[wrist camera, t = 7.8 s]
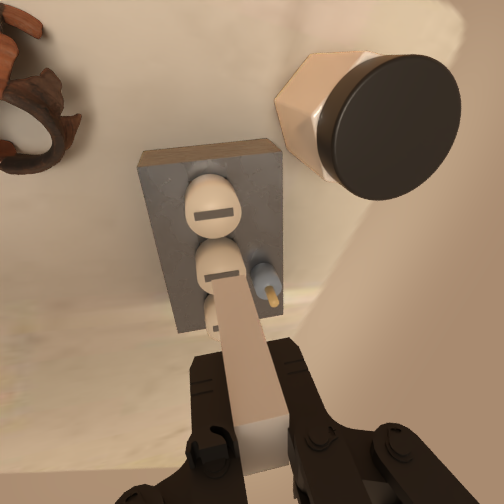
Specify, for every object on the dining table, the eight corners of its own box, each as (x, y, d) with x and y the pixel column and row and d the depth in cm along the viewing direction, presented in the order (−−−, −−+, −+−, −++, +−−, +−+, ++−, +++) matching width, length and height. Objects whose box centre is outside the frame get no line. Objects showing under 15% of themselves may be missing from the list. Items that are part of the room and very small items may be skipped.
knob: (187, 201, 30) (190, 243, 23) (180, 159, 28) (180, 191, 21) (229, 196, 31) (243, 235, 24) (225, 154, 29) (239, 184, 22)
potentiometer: (251, 285, 31) (261, 316, 27) (249, 264, 29) (260, 294, 26) (275, 281, 31) (288, 311, 27) (274, 260, 30) (288, 289, 26)
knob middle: (196, 250, 33) (200, 300, 26) (190, 215, 31) (193, 259, 24) (234, 245, 34) (248, 292, 27) (230, 210, 32) (244, 252, 25)
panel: (178, 301, 36) (178, 333, 32) (143, 151, 27) (136, 167, 23) (271, 286, 38) (283, 314, 34) (267, 138, 29) (282, 151, 25)
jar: (315, 175, 32) (378, 229, 22) (255, 120, 28) (298, 153, 18) (383, 100, 29) (491, 121, 19) (328, 27, 25) (426, 5, 15)
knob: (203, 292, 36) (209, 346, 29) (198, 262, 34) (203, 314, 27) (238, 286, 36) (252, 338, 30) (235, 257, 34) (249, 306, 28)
